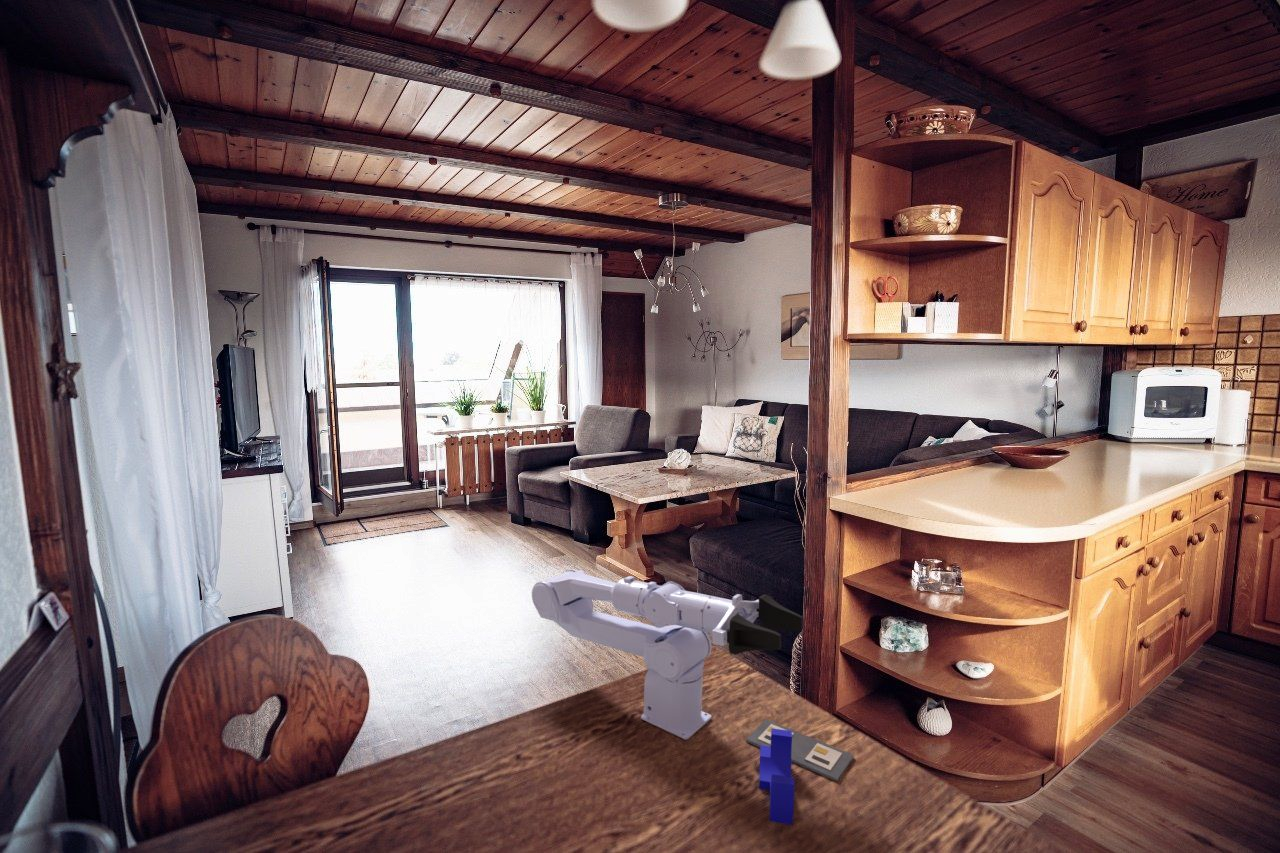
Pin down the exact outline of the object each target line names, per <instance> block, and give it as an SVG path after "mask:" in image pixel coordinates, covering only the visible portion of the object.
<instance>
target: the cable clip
mask: <svg viewBox="0 0 1280 853" xmlns="http://www.w3.org/2000/svg"><path fill="white" fill-rule="evenodd" d="M791 750H792V731H788V730H780V729H773V728H771V747H770V746H763V745H760V750H759V775H758V776H759V778H758V780H759V781H758V782H759V783H758V789H759V790H764V791H769V822H773V823H779V824H783V825H791V826H792V825H793V823H794V807H795V806H794V804H795V803H794V802H795V791H796V790H795V784H796V783H795V781H796V780H795V777H794V776H793V777H792V762H791Z"/></svg>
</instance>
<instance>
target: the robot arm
mask: <svg viewBox="0 0 1280 853" xmlns="http://www.w3.org/2000/svg"><path fill="white" fill-rule="evenodd" d="M531 599H532V600H531V601H532V603H533V605H534V608H535V609H536V611H537V613H538V615H539V617H540V619H541V618H542V619H545V620H549V621H553V622H554V623H555V624H556V625H557V626H559V627H561V628H562V630H564V631H566V633H568V634H569V635H571V636H572V637H574V638H576V639H580V640H584V641H587V642H590V643H591V642H592V643H594V644H597V645H601V646H604V647H608V648H611V649H615V650H618V651H621V652H625V653H628V654H632V655H636V656H638V657H642V658H643V661H644V664H645V667H646V668H647V669H648V670H647V672H646V674H645V677H644V683H643V684H644V687H643V689H644V690H643V713H642V714H641V715H640V719H641V720H643V721H646V722H647V723H648V724H651V725H653V726H656V727H658V728H660V729H662V730H663V731H666V732H668V733H669V734H673V735H675V736H677V737H679V738H681V739H683V740H689V739H690V738H691V737H692V736H693V735H694V734H695V733H697V732H698V731H699V730H700V729H701V728H702V727H704V725H705V724H707V723H708V722H709V721H710V720H712V715H711V714H710V713H708V712H706V711H703V710H702V704H703V679H704V678H703V676H704V674H703V672H704V667H705V659H707V658H708V657H709V656H710V654H711V652H712V645H713V644H714V645H717V646H722V647H724V646H726V645H727V644H728V652H729V654H731V655H735V656H736V655H738V654H742V653H745V652H751V651H779V650H781V649H783V648H782V646H783V645H782V634H781V633H779V632H778V630H779V631H789V632H790V631H791V632H802V631H803V630H804V616H803V615H800V614H799V613H796V612H794V611H793V610H790V609H789V608H786V607H785V606H783V605H782V604H779V602H777V601H776V600H775V599H773V597H772V596H771V595H768V594H762V595H760V596H759V597H758V599H756V600H743V595H742V594H740V593H739V594H738V593H736V594H735V595H734V596H732V599H728V598H724V597H718V596H714V595H710V594H709V595H708V594H706V593H705V594H704V593H700V592H694V591H690V590H689V591H688V590H686V589H685V588H684V587H683V586H682V585H680V584H678V583H676V582H674V581H673V580H672V581H670V580H669V581H667V582H666V583H664V584H662V585H659V584H657V582H655V581H650V582H645V581H642V580H641V581H640V580H635V576H630V575H629V576H626V577H624V578H621V579H619V580H618V581H617V582H614V581H611V580H608V579H607V580H606V579H604V578H600V577H596V576H594V575H590V574H587V573H586V572H585V571H584V570H577V569H573V568H571V569H568V570H566V571H565V572H562V573H559V574H558V575H555V576H553V577H550V578H548V579H545V580H543V581H541V580H540V581H537V582H536V583H535V584H534V585H533V586H532V590H531ZM593 600H594V601H600V602H608V603H612V606H613V607H614V609H615V610H616V611H618V612H622V613H626V614H628V615H629V614H630V615H634V616H637V617H638V616H639V617H643V618H645V619H647V620H648V621H649V622H650V623H651V624H654V625H651V624H647V623H644V622H639V621H635V620H631V619H628V618H623V617H619V616H615V615H611V614H607V613H603V612H601V611H595V610H594V607H595V606H594V602H593ZM756 619H757V620H759V622H761V626H760V625H758V624H755V623H754V622H755V621H756ZM776 630H777V631H776ZM709 634H710V635H711V636H712V639H711V638H710V635H709ZM711 640H712V641H711Z"/></svg>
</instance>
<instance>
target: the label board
mask: <svg viewBox="0 0 1280 853" xmlns="http://www.w3.org/2000/svg"><path fill="white" fill-rule="evenodd" d="M771 728H773V729H780V730H788V731H792V750H791V763H793V764H795V765H798V766H799V767H802V768H804V769H806V770H808V771H811V772H813V773H816V774H818V775H821V776H823V777H825V778H827V779H829V780H831V781H834V782H835V783H838V782H839V781H840V779H841V778H842V776H843V775H844V773H845V772H846V770H847V769H848V767H849V766H850V764H851V762H852V761H853V760H854V757H855V755H854V754H853V753H850V752H848V751H846V750H843V749H841V748H838V747H836V746H833V745H830V744H828V743H825V742H824V741H820V740H819V739H816V738H813V737H811V736H809V735H806V734H804V733H801V732H799V731H797V730H794V729H792V728H789V727H786V726H784V725H781V724H780V723H777V722H774V721H772V720H770V719H767V718H765V719H764V720H763V721H762V722H761V723H760V724H759V725H758V726H757V727H756V728H755V729H754V730H753V732H751V734H749V735H748V737H746V739H745V742H746V743H748V744H750V745H752V746H755V747H756V748H760V745H763V746H770V747H771Z"/></svg>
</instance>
